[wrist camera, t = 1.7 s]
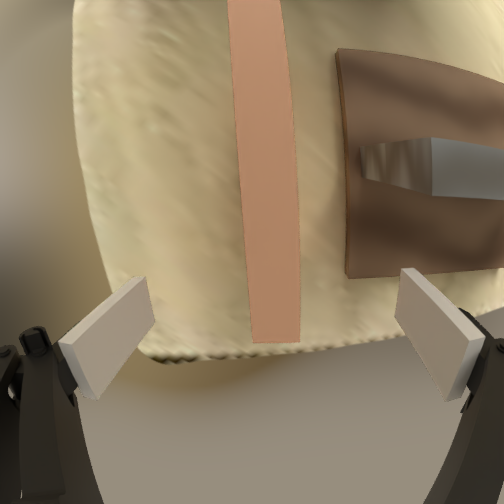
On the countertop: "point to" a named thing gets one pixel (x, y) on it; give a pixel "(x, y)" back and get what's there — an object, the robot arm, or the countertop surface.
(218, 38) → the countertop surface
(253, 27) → the terracotta plate
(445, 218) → the slotted stand
